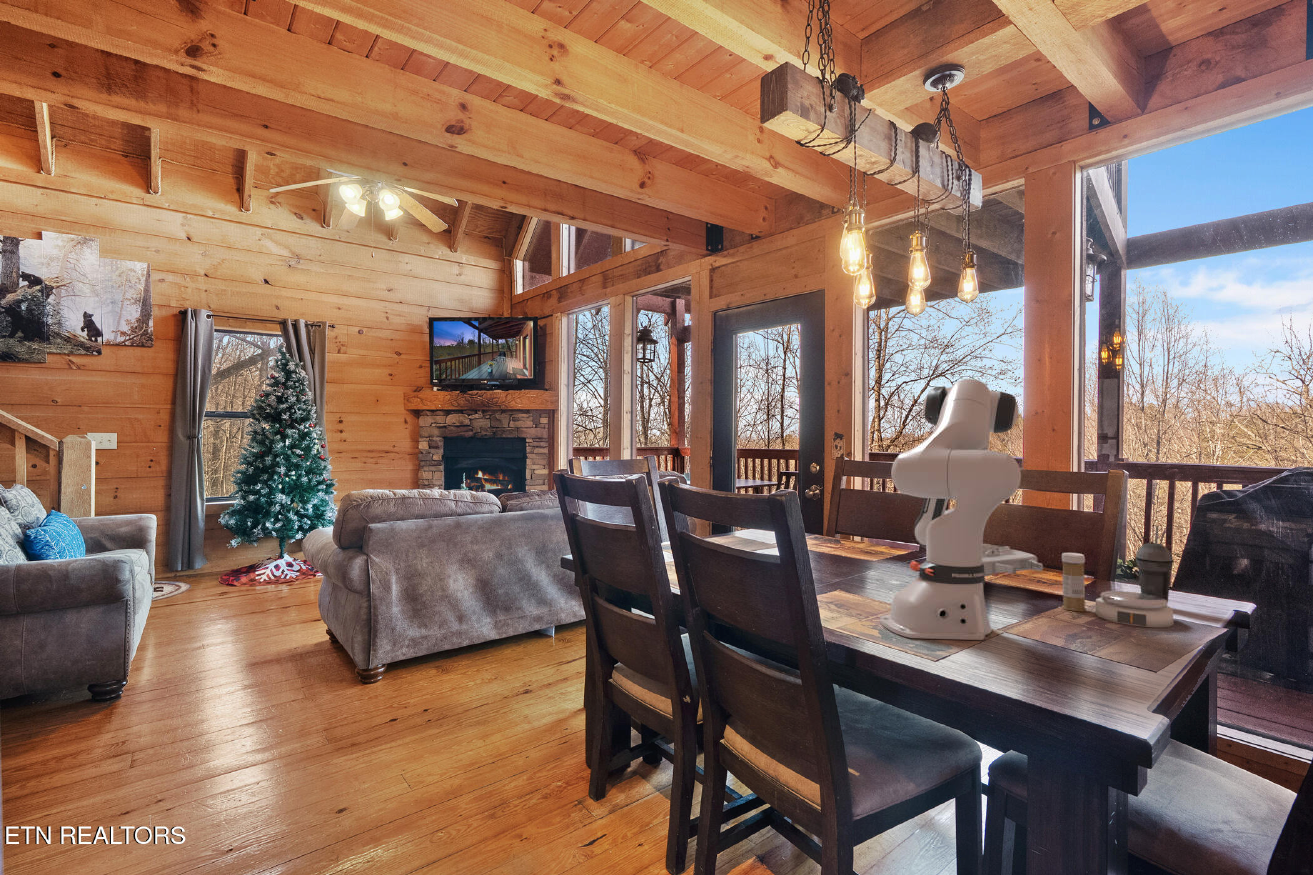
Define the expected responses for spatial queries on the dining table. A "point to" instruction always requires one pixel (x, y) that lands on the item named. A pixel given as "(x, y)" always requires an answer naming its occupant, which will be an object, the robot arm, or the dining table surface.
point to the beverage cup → (1154, 568)
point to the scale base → (1134, 615)
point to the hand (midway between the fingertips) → (1027, 568)
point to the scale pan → (1134, 600)
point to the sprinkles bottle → (1073, 582)
